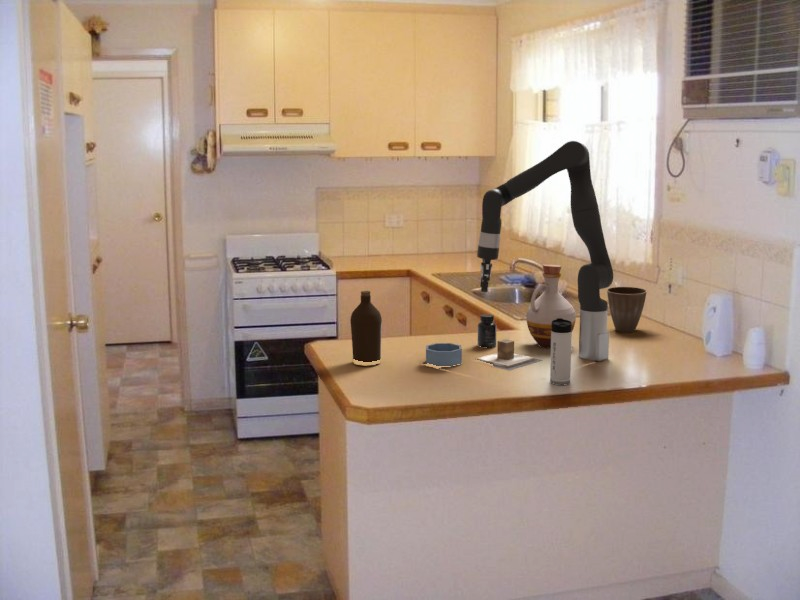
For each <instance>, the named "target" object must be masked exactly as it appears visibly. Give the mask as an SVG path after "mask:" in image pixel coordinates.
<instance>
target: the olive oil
mask: <svg viewBox="0 0 800 600" xmlns="http://www.w3.org/2000/svg"><path fill="white" fill-rule="evenodd" d="M371 297H372V296H371V291H369V290H361V291H360V303H359V304H358V305H357V307H356V308H355V309H354V310H353V311H352V312H351V315H350V333H351V345H352V346H351V347H352V360H353V359H355V360H358V361H363V362H372V361H377V360H380V359H382V358H381V353H382V325H383V324H382V321H383V320H382V315H381V311H379V310H378V309H377V307H376V306H375V305H374V304H373V303H372V302H371Z"/></svg>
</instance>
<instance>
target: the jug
mask: <svg viewBox="0 0 800 600" xmlns="http://www.w3.org/2000/svg"><path fill="white" fill-rule="evenodd" d="M542 269H543V272H542V277H543V279H544V283H541V284H539V285H538V286H537V287H536V288H535V289H534V291H533V293H532V295H531V297H530V304H529V307H528V308H527V311H526V315H525V317H526V324H527V329H528V331H529V334H530V336H531V337H532V338H533V340H534V341H535V342H536V344H537V345H538V346H539V347H540V348H543V347H544V348H543V349H551V333H552V332H551V329H552V321H553V320H556V319H557V318H562V319H565V320H569V321H571V323H572V328H571V329H572V330H571V331H572V332H573V331H574V328H575V324H576V320H577V314H576V311H575V308H574V307H573V305H572V304H571V303H570V302H569V300H567V299H566V298H565V297H564V296H563V295H562V294H561V293H560V292H559V281H560V278H561V275H562V272H561V269H562V265H559V264H542ZM543 288H544V290H543V292H542V293H541V294H540V296H539V297H537V296H538V294H539V292H540V291H541V289H543ZM536 297H537V298H536Z"/></svg>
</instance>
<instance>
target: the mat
mask: <svg viewBox="0 0 800 600" xmlns="http://www.w3.org/2000/svg"><path fill="white" fill-rule="evenodd" d="M542 361H544V360H543V359H539V358H535V360H534V361H531V362H527V363H524V364H521V365H517V366H514V367H510V368H506V367H502V366H497V365H493V366H494V367H493V368H496V369H501V370H506V371H512V370H516V369H518V368H523V367H526V366H530V365H533V364H535V363H539V362H542Z"/></svg>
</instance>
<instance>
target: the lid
mask: <svg viewBox="0 0 800 600" xmlns="http://www.w3.org/2000/svg"><path fill="white" fill-rule="evenodd" d="M496 347H497V352H494V353H491V354H487V355H484V356H483V355H482V356H481V357H480V356H479V357H476V358H477V360H480V361H483V362H486V363H490V364H493V365H497V366H502V367H506V368H510V367H514V366H517V365H521V364H524V363H527V362H531V361H534V360H535V359H536V358H535V357H532V356H527V355H523V354H518V353H515V340H510V339H506V338H504V339H501V340H500V339H499V340H497V345H496Z"/></svg>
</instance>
